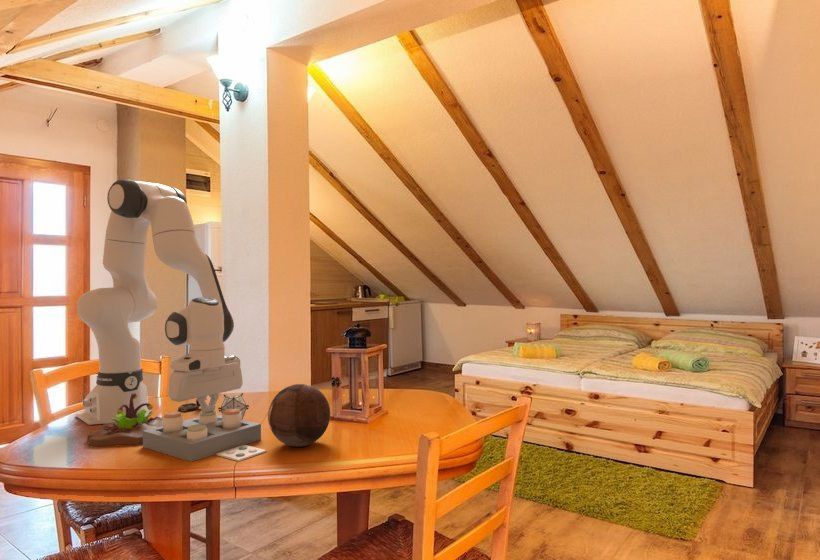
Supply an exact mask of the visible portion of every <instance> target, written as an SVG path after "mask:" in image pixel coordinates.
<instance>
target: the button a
mask: <svg viewBox="0 0 820 560" xmlns="http://www.w3.org/2000/svg"><path fill="white" fill-rule="evenodd" d="M162 418H163V432H164V433H167V434H170V433H174V432H178V431H182V430H183V421H184V417H183V414H182V411H171V412H166V413H164V414H163V416H162Z"/></svg>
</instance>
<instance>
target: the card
mask: <svg viewBox="0 0 820 560" xmlns="http://www.w3.org/2000/svg"><path fill="white" fill-rule="evenodd" d="M264 453H267V449H263V448H260V447H255V446H251V445H248V444H245V445H242V446H239V447H236V448H232V449H229V450H226V451H223V452H220V453H217V454H216V456H218V457H222V458H225V459H228V460H232V461H235V462H241V461H244V460H247V459H250V458H253V457H256V456H258V455H261V454H264Z"/></svg>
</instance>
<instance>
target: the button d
mask: <svg viewBox="0 0 820 560" xmlns="http://www.w3.org/2000/svg"><path fill="white" fill-rule="evenodd" d="M223 412H224V413H221V415H222V426H223V429H227V430H232V429H236V428H239V427H242V422H241V411H240V409H227V410H224V411H223Z"/></svg>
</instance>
